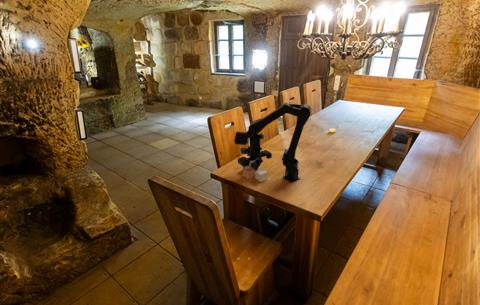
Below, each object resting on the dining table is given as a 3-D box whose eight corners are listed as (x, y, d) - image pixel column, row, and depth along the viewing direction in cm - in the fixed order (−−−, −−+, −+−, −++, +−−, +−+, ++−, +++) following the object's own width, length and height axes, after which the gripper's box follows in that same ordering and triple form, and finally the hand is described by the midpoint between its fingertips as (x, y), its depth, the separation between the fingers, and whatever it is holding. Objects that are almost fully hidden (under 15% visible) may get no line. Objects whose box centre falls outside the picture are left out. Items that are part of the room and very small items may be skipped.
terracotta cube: (254, 176, 138) (254, 169, 136) (247, 179, 136) (247, 171, 134) (249, 173, 141) (249, 166, 139) (243, 175, 139) (242, 168, 137)
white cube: (267, 179, 135) (267, 172, 133) (260, 182, 133) (260, 174, 131) (262, 176, 139) (262, 168, 137) (255, 178, 136) (255, 171, 135)
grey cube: (253, 170, 144) (253, 163, 143) (247, 172, 142) (247, 165, 140) (249, 167, 148) (249, 160, 146) (242, 169, 146) (242, 162, 144)
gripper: (260, 137, 144) (259, 161, 151) (231, 144, 135) (232, 170, 142) (272, 143, 136) (272, 169, 142) (243, 152, 127) (243, 179, 133)
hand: (255, 171), depth 140 cm, fingers closed
